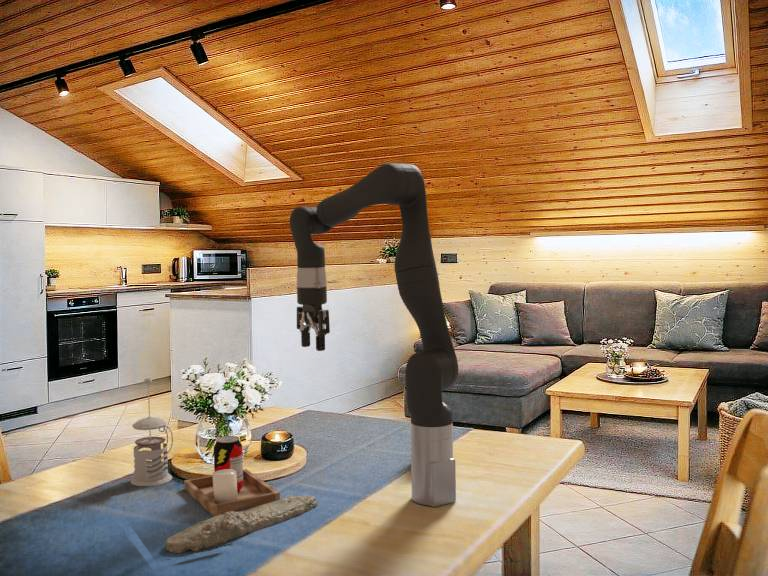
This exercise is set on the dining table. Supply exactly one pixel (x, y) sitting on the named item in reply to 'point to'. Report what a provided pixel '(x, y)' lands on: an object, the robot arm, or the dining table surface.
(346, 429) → the dining table surface
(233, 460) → the beverage can
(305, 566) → the dining table surface
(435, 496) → the robot arm
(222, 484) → the frosted white cylinder
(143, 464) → the french press
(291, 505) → the long grey stone
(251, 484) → the tray
